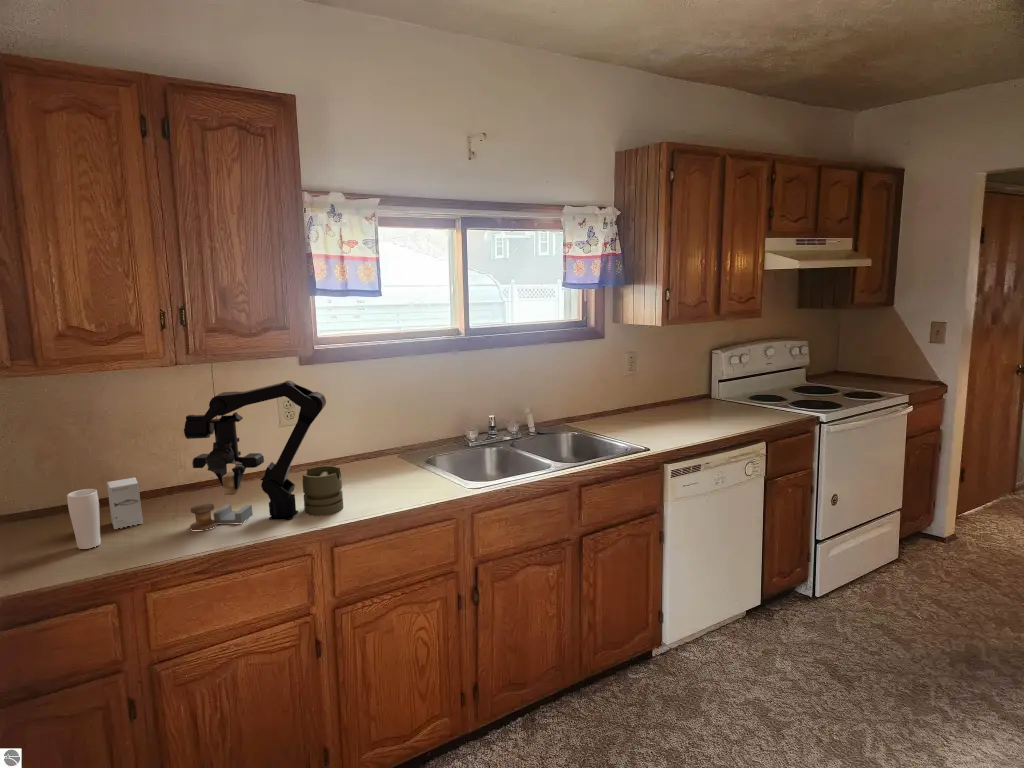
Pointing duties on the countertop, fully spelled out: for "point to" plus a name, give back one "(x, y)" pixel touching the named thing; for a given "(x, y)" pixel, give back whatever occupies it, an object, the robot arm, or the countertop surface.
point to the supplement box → (124, 503)
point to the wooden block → (229, 484)
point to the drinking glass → (85, 517)
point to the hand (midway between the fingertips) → (231, 489)
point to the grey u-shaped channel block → (232, 514)
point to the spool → (203, 517)
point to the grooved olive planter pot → (322, 490)
